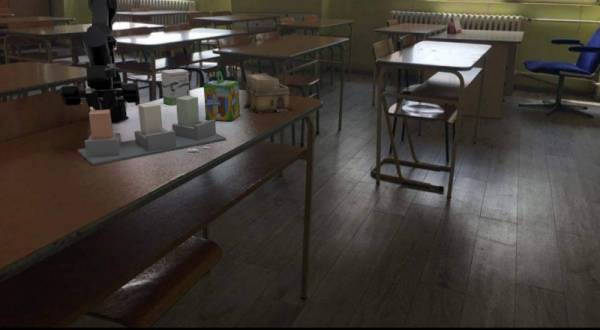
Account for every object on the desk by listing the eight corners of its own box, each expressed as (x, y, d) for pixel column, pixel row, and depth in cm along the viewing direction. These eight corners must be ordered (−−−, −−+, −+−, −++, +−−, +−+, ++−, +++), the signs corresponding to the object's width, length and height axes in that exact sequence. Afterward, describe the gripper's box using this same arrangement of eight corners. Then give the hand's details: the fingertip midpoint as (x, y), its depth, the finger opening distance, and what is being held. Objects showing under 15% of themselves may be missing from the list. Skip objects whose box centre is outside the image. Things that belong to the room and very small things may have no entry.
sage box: (178, 132, 143) (175, 98, 139) (189, 129, 146) (187, 95, 143) (189, 135, 141) (186, 100, 137) (199, 131, 144) (197, 97, 141)
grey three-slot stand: (76, 150, 130) (74, 133, 128) (202, 128, 150) (201, 113, 149) (93, 165, 119) (90, 147, 118) (226, 140, 140) (225, 124, 138)
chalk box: (232, 122, 158) (230, 75, 153) (204, 120, 160) (202, 73, 155) (241, 115, 167) (239, 70, 162) (215, 113, 169) (212, 69, 164)
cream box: (141, 140, 135) (138, 104, 132) (157, 137, 138) (154, 102, 134) (147, 144, 132) (143, 107, 129) (163, 141, 135) (160, 105, 131)
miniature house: (255, 115, 167) (254, 81, 163) (242, 106, 179) (241, 74, 175) (296, 111, 172) (296, 78, 169) (280, 103, 184) (280, 72, 181)
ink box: (170, 105, 178) (167, 72, 174) (163, 103, 182) (160, 70, 178) (191, 102, 184) (188, 69, 180) (183, 100, 188) (181, 68, 184)
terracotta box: (95, 148, 129) (90, 110, 125) (114, 147, 130) (109, 109, 126) (94, 153, 125) (88, 114, 122) (113, 151, 126) (108, 113, 123)
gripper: (55, 53, 124) (54, 107, 118) (134, 51, 129) (137, 103, 122) (65, 79, 134) (64, 130, 127) (138, 77, 138) (141, 126, 132)
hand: (101, 122), depth 127 cm, fingers closed, pressing on terracotta box
